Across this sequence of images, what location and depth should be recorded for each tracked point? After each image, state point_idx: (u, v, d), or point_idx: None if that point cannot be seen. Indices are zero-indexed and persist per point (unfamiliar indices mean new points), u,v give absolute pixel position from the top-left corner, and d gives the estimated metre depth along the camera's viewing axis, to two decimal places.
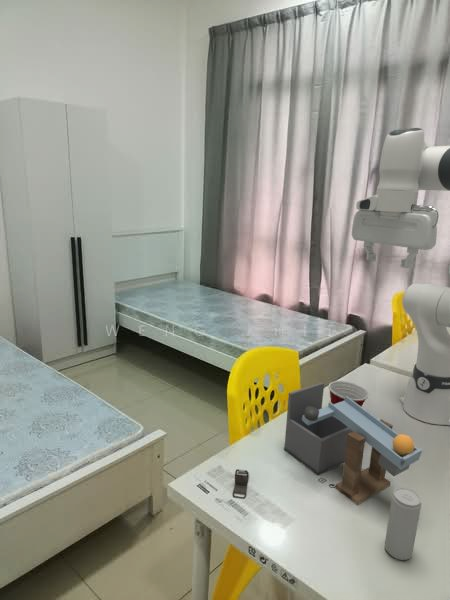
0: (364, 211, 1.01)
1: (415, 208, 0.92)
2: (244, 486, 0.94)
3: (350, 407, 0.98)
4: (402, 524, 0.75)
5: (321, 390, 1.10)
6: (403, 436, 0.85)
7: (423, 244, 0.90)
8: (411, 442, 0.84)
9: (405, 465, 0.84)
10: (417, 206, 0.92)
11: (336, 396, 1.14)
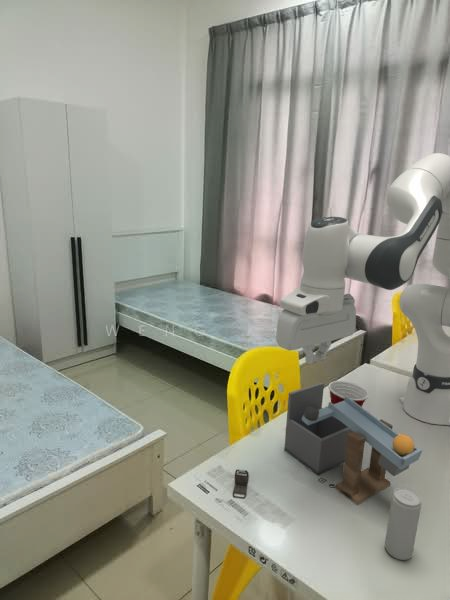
0: (307, 315, 0.82)
1: None
2: (244, 486, 0.94)
3: (350, 407, 0.98)
4: (402, 524, 0.75)
5: (321, 390, 1.10)
6: (403, 436, 0.85)
7: (353, 330, 0.92)
8: (411, 442, 0.84)
9: (405, 465, 0.84)
10: None
11: (336, 396, 1.14)
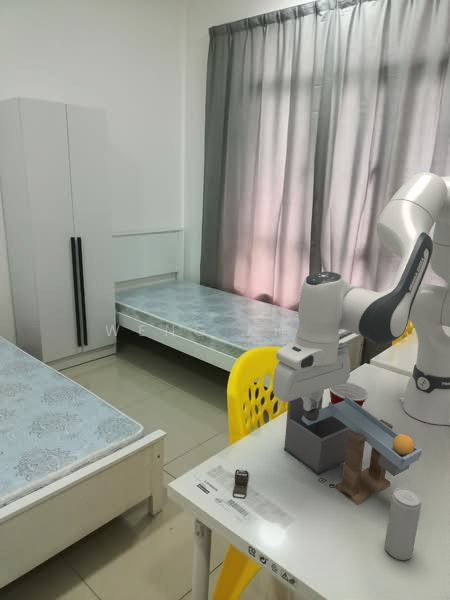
0: (303, 368, 0.84)
1: None
2: (244, 486, 0.94)
3: (350, 407, 0.98)
4: (402, 524, 0.75)
5: None
6: (403, 436, 0.85)
7: (348, 378, 0.95)
8: (411, 442, 0.84)
9: (405, 465, 0.84)
10: None
11: (336, 396, 1.14)
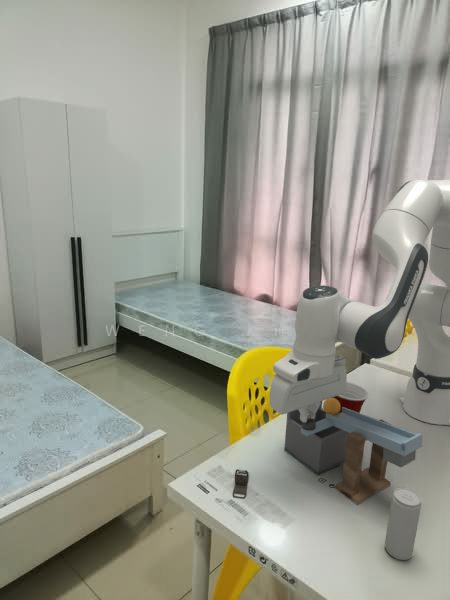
0: (299, 381, 0.86)
1: None
2: (244, 486, 0.94)
3: (348, 416, 0.99)
4: (402, 524, 0.75)
5: None
6: None
7: (344, 389, 0.96)
8: None
9: (407, 451, 0.83)
10: None
11: (336, 396, 1.14)
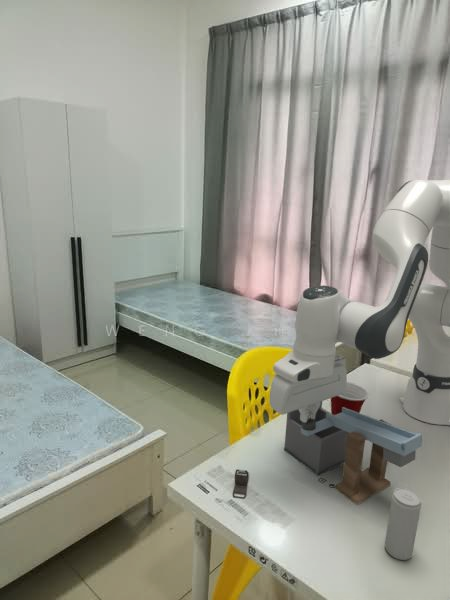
0: (299, 382, 0.86)
1: None
2: (244, 486, 0.94)
3: (348, 416, 0.99)
4: (402, 524, 0.75)
5: None
6: None
7: (344, 389, 0.96)
8: None
9: (407, 451, 0.83)
10: None
11: (336, 396, 1.14)
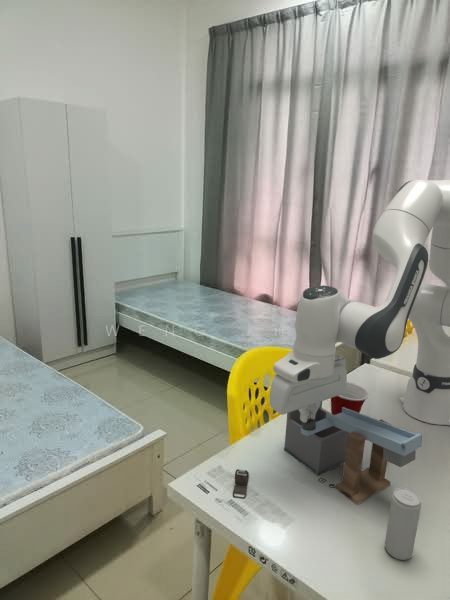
0: (299, 382, 0.86)
1: None
2: (244, 486, 0.94)
3: (348, 416, 0.99)
4: (402, 524, 0.75)
5: None
6: None
7: (344, 389, 0.96)
8: None
9: (407, 451, 0.83)
10: None
11: (336, 396, 1.14)
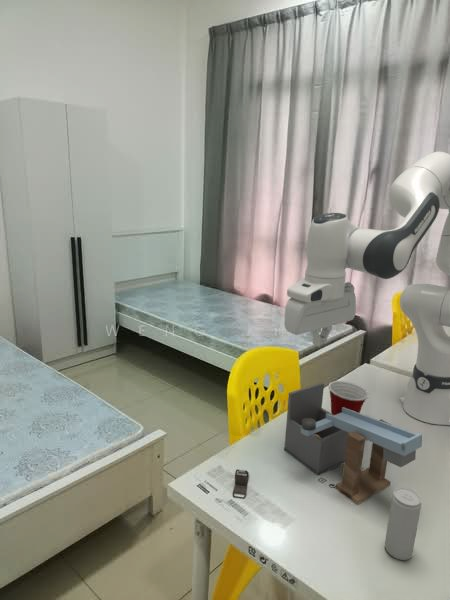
0: (312, 302, 0.91)
1: None
2: (244, 486, 0.94)
3: (348, 416, 0.99)
4: (402, 524, 0.75)
5: (321, 390, 1.10)
6: None
7: (354, 315, 1.02)
8: None
9: (407, 451, 0.83)
10: None
11: (336, 396, 1.14)
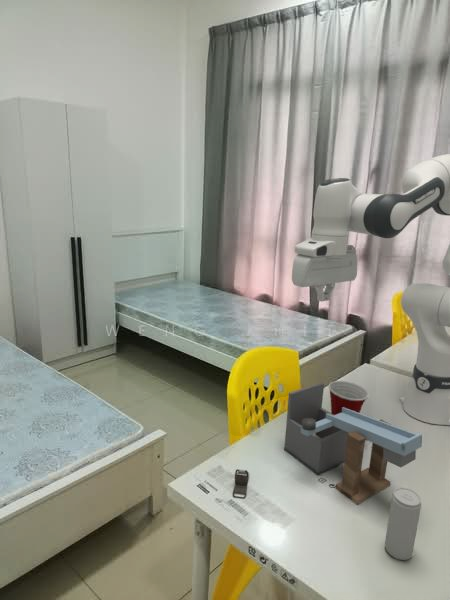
0: (318, 257, 1.00)
1: None
2: (244, 486, 0.94)
3: (348, 416, 0.99)
4: (402, 524, 0.75)
5: (321, 390, 1.10)
6: None
7: (355, 276, 1.10)
8: None
9: (407, 451, 0.83)
10: None
11: (336, 396, 1.14)
